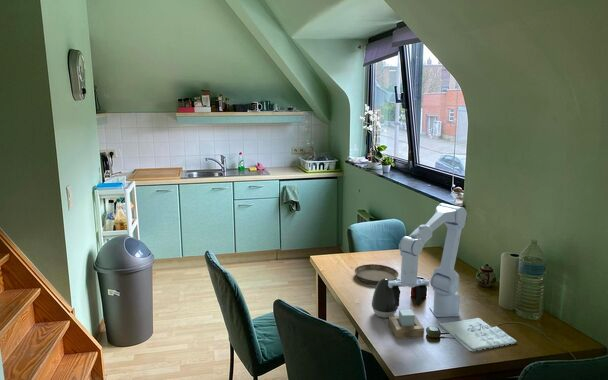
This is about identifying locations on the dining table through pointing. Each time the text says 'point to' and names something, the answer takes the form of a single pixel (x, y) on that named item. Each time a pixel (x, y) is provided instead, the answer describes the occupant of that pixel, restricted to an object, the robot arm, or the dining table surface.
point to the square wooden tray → (406, 328)
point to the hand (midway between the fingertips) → (407, 304)
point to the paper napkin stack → (477, 334)
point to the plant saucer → (375, 273)
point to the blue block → (406, 318)
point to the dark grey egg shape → (384, 299)
